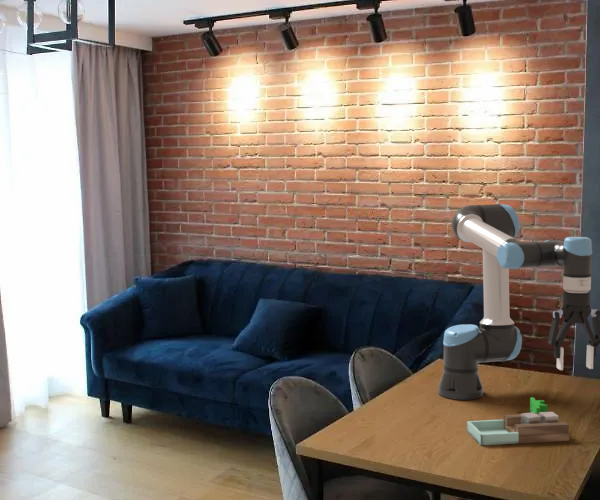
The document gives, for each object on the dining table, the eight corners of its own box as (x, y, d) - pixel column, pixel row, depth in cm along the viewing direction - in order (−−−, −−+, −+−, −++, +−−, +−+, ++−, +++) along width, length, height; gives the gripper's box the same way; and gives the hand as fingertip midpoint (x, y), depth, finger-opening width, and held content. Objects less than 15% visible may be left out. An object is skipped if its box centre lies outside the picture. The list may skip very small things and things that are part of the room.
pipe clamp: (548, 423, 237) (549, 408, 237) (536, 422, 238) (536, 408, 237) (541, 411, 248) (542, 397, 248) (529, 410, 249) (530, 396, 248)
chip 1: (520, 427, 227) (520, 413, 227) (532, 425, 228) (532, 412, 228) (528, 431, 223) (528, 417, 223) (540, 429, 224) (540, 416, 224)
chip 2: (539, 425, 228) (539, 412, 228) (552, 424, 229) (552, 411, 228) (544, 430, 224) (545, 416, 224) (558, 429, 225) (558, 416, 224)
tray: (466, 431, 230) (466, 421, 230) (502, 429, 231) (502, 419, 231) (480, 445, 218) (480, 434, 218) (518, 443, 219) (518, 433, 219)
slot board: (502, 429, 231) (503, 414, 231) (551, 426, 233) (551, 412, 232) (518, 443, 219) (518, 427, 219) (569, 440, 221) (569, 425, 221)
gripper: (546, 294, 218) (545, 373, 221) (618, 291, 220) (615, 370, 223) (535, 289, 226) (534, 366, 228) (605, 287, 228) (603, 363, 230)
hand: (574, 368), depth 225 cm, fingers open, 8 cm apart
